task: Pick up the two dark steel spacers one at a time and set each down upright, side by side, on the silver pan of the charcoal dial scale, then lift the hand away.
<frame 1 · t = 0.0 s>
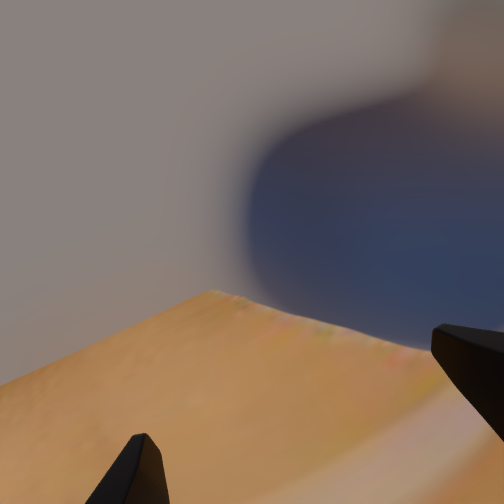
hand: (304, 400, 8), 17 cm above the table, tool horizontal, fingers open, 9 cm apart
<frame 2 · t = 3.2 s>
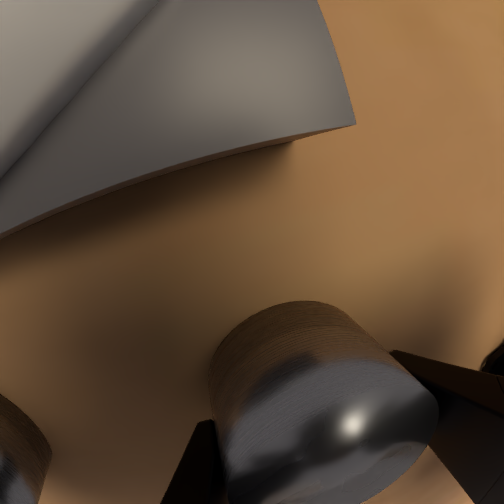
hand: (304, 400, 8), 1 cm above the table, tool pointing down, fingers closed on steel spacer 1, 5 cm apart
steel spacer 2: (0, 428, 7), on the table
steel spacer 1: (290, 375, 9), on the table, touching gripper
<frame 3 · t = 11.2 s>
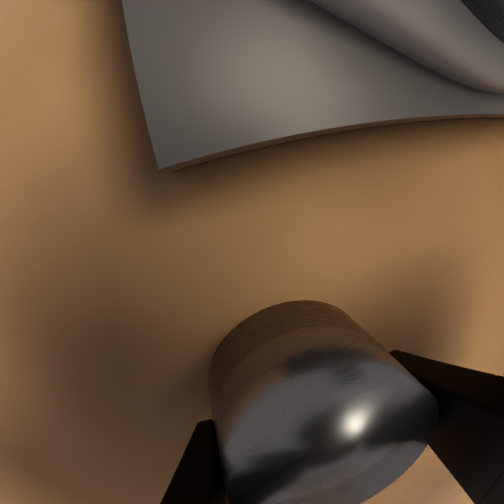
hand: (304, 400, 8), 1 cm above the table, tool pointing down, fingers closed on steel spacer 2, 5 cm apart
steel spacer 2: (290, 374, 9), on the table, touching gripper
when the fingers open (6 cm above the table, at t = 15.8 s): steel spacer 2 stays where it is, resting on dial scale.
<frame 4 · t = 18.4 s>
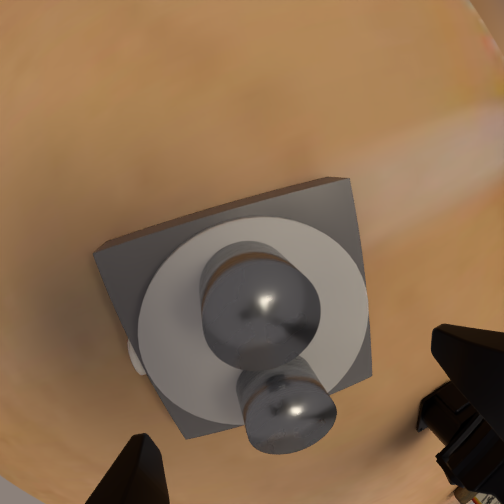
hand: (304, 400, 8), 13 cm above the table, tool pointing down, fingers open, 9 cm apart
baking soda box: (477, 482, 54), on the table
stone weight: (471, 473, 48), on the table
steel spacer 2: (246, 287, 16), point 4 cm above the table, touching dial scale
dial scale: (248, 312, 21), on the table
steel spacer 1: (275, 384, 18), point 4 cm above the table, touching dial scale
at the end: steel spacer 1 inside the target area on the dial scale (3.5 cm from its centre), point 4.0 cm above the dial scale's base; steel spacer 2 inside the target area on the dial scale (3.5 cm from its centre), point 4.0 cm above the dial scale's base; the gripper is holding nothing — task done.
